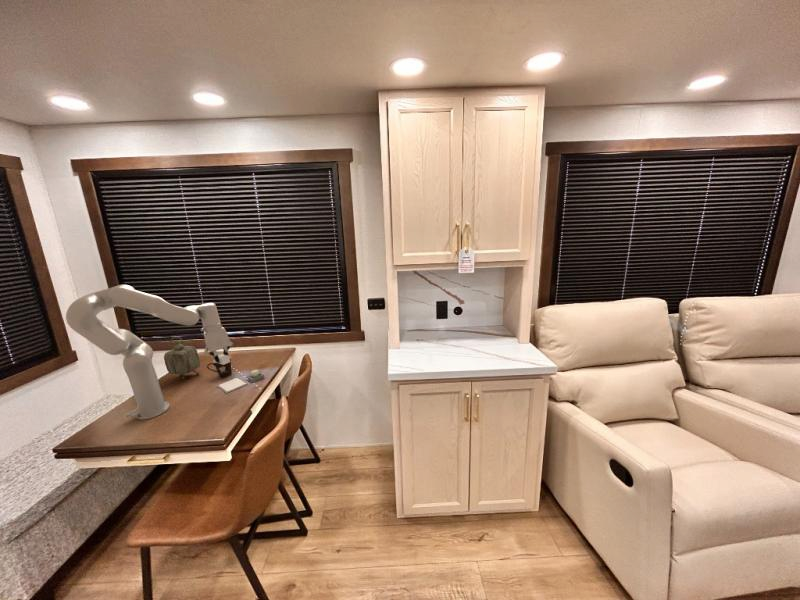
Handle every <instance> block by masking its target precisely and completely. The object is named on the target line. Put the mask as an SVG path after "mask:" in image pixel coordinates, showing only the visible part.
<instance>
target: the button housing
mask: <svg viewBox="0 0 800 600" xmlns="http://www.w3.org/2000/svg"><path fill="white" fill-rule="evenodd" d="M246 379H247V381H249V382H250V383H256V382H259V381H260V380H263V379H265V374H264V373H262V372H260V371H259V376H257V377H255V378H252V377H251V374H249V375H246Z"/></svg>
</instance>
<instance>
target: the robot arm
mask: <svg viewBox="0 0 800 600" xmlns="http://www.w3.org/2000/svg"><path fill="white" fill-rule="evenodd" d="M115 307H119V308H124V309H128V310H132V311H136V312H140V313H142V314H143V313H144V314H147V315H152V316H153V317H156V318H159V319H161V320H164V321H168V322H170V323H176V324H178V325H184V326H194V325H196V324H197V323H198V322H199V321H200V320H201V322H202V323H201V324H202V328H200V331H201V332H203V339H204V346H205V347H204V351H203V353H204V354H205V355H209V356H213V359H214V360H215V362H218V363H220V361H219V357H218V355H219V354H217V351H219V350H223V351H222V354H224V355H228V356H229V350H230V349H231V347H233V345H234V343H233V342H232V341H231V340H230V338H229V335H228V332H227V329H225V327H223V326H222V323H221V319H220V318H221V317H220V315H219V312H218V308H217V305H216V303H215V302H207V303H202V304H197V305H187V306H185V307H182V306H178V305H174V304H172V303H170V302H168V301H166V300H165V299H163V298H162V297H160V296H158V295H154V294H152V293H148V292H147V293H146V292H143V291H140V290H136V289H135V288H134V287H133V286H131V285H128V284H119V285H116V286H111V287H109V288H106V289H102V290H99V291H96V292H92V293H89V294H85V295H83V296H81V297H79V298H78V299H75V300H74V301H72V303H71V304H70V305H69V306H68V308H67V310H66V314H65V321H66V323H67V325H68V326H69V327H70V329H72V331H73V332H75V333H77V334H79V335H80V336H81V337H83V338H85V339H86V340H87V341H88V342H90V343H91V344H93V345H95V346H96V347H97V348H98V349H101V350H102V352H104V353H106V354H108V355H111V356H119V355H122V356H124V358H123V360H122V367H123V369H124V372H125V373H126V376H127V378H128V381H129V383H130V387H131V389H132V392H133V396H134V399H135V402H136V404H137V406H136V408H135V409H133V410H131V411H129V412H125V416H126V418H133V417H136V419H137V420H140V421H141V420H149V419H153V418H155V417H158V416H160V415H162V414H164V413H166V411H168V410H169V409H170V407H171V405H170V402H168V401H165V398H164V395H163V392H162V389H161V386H160V385H161V384H160V382H159V379H158V375H157V372H156V369H155V367H154V364H153V361H152V359H153V356H154V351H153V348H152V347H151V346H150V345H149V344H148V343H147V342H145V341H144V340H142V339H141V338H140V337H138V335H135V334H134V333H133V332H131V331H130V330H127V329H125V328H116V329H115V328H113V327H111V326H110V325H109V324H107V323H106V322H104V321H103V320H102V319H99V318H98V317H97V315H98V314H100V313H101V312H102V311H106V310H110V309H113V308H115Z"/></svg>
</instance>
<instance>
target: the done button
mask: <svg viewBox="0 0 800 600" xmlns="http://www.w3.org/2000/svg"><path fill="white" fill-rule="evenodd" d="M259 372H260V371H259V369H253V370H251V371H250V375H251V377H252V378H255V377H257V376H259Z"/></svg>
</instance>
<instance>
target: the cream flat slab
mask: <svg viewBox="0 0 800 600" xmlns="http://www.w3.org/2000/svg"><path fill="white" fill-rule="evenodd" d="M248 385H249V383H248V382H246V381H244V380H243V379H242V378H240V377H235V378H232V379H230V380H227V381H225V382H223V383H220V384H218V385H216V387H217V388H219V389H220V390H221V391H222V392H224V393H225V394H227V395H228V394H229V393H232V392H233V391H237V390H238V389H241V388H242V387H245V386H248Z"/></svg>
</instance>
